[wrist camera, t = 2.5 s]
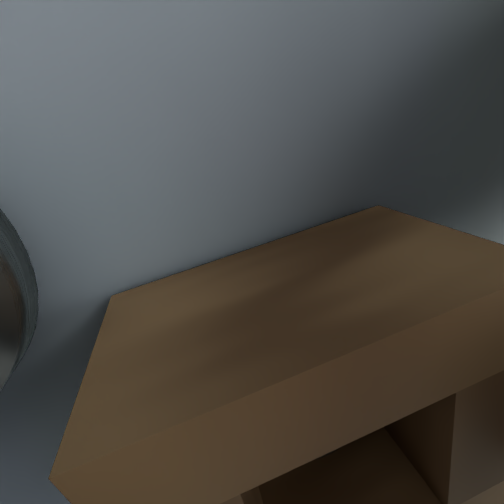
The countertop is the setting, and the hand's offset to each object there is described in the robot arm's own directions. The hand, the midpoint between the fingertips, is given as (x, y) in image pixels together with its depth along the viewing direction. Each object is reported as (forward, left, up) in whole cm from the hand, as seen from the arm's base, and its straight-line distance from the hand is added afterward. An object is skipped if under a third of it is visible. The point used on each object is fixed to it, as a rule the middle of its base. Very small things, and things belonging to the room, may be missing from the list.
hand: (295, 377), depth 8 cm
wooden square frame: (0, 0, -1) cm, 1 cm away
